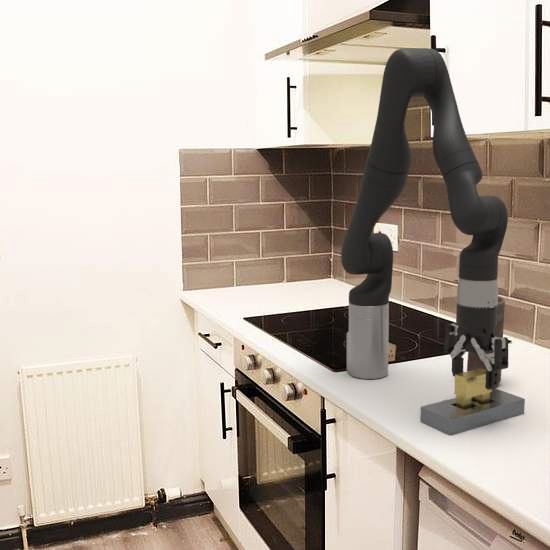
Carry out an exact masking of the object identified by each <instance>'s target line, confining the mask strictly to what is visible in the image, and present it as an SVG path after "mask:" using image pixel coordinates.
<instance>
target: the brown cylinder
mask: <svg viewBox="0 0 550 550" xmlns="http://www.w3.org/2000/svg"><path fill="white" fill-rule="evenodd" d="M505 306H506V300H505V299H504V298H503V297H500V296H499V295H498V307H497V325H496V326H495V328H494V335H495V337H499V338H503V337H504V325H505V323H504V322H505ZM485 354H489V351H487V352H486V353H485ZM490 361H491V360H490ZM466 363H467V364H466V372H467V371H472V370H476V369H480V368H482V369H485V370H487V368H486V366H485V364H484V362H483V361H482V360H481V359H480V357H479V355H476V354H474V353H472V352H467V362H466ZM491 363H492V361H491ZM501 363H502V358H501ZM492 364H493V363H492ZM501 380H502V370H499V371H498V384H499V383H500V382H501Z"/></svg>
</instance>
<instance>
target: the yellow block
mask: <svg viewBox="0 0 550 550" xmlns="http://www.w3.org/2000/svg"><path fill="white" fill-rule="evenodd" d="M485 383H486V370H485V369H482V368H480V369H476V370H472V371H467V370H466V371H463V373H459V374H455V377H454V395H455V398H456V407H458V408H460V409H463V410H466V409H470V408H471V397H474V396H475V402H477V403H479V404H482V405H484V404H488V403H490V392H492V389H491V390H488V389H486V388H485Z"/></svg>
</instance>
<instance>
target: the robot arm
mask: <svg viewBox="0 0 550 550" xmlns="http://www.w3.org/2000/svg"><path fill="white" fill-rule="evenodd" d="M449 73H450V72H449V71H448V66H447V64H446V61H445V59H444V57H443V56H442V54H441V53H440V52H439V51H437V50H436V49H434V48H429V47H428V48H426V47H424V48H423V47H418V48H417V47H416V48H414V47H412V48H409V47H408V48H399V49H396V50H394V51H393V52H392V53H391V54H390V56H389V57H388V59H387V62H386V64H385V66H384V70H383V75H382V81H381V89H380V96H379V103H378V111H377V115H376V119H375V121H376V122H375V125H374V131H373V133H372V134H373V135H372V138H371V139H372V140H371V143H370V147H369V151H368V154H367V158H366V161H365V166H364V170H363V174H362V179H361V185H360V188H359V193H358V195H357V200H356V204H355V207H354V210H353V213H352V216H351V218H350V221H349V225H348V227H347V229H346V230H347V231H346V233H345V236H344V238H343V242H342V246H341V253H340V258H341V266H342V268H343V270H344V271H345V272H346V273H347V274H349V275H352V276H353V275H357V276H359V275H360V276H361V275H366V277H365V279H364V280H362V282H361V283H359V284H357V285H356V286H354V287H352V288H350V290H349V292H348V331H347V333H346V371H347V372H348V375H350V376H352V377H353V378H358V379H363V380H364V379H365V380H374V379H375V380H376V379H382V378H385V377H387V376H388V375H389V327H390V326H389V325H390V324H389V316H390V313H389V311H390V310H389V309H390V307H389V306H390V305H389V304H390V302H389V301H390V300H389V299H390V295H391V291H392V282H393V269H394V249H393V248H394V247H393V244H392V240H391V239H390V237H389V236H388V235H387V234H386V233H383V232H373V230H374V229H375V226H376V225H377V223H378V221H379V220H380V219H381V217H382V216H383V215H384V214H386V212H387V211H388V210H389V208H391V207H392V205H393V204H395V202H396V201H397V200H398V198H399V197H400V196H401V194H402V193H403V191H404V189H405V186H406V183H407V178H408V177H409V172H410V170H411V166H412V153H411V147H410V144H409V141H408V138H407V134H406V129H405V128H406V127H405V126H406V125H405V122H406V115H407V111H408V108H409V104H410V101H411V98H416V97H417V98H418V97H420V98H421V97H423V99H425V101H426V103H427V105H428V106H429V109H430V111H431V114H432V118H433V133H432V153H433V157H434V160H435V164H436V165H437V167H438V170H439V172H440V174H441V176H442V179H443V181H444V183H445V185H446V194H447V202H448V207H449V212H450V213H449V214H450V217H451V219H452V222H453V224H454V226H455V227H456V228H457V229H458V230H459V231H460V233H462V234H464V235H466V236H472V238H471V242H470V243H469V244H468V245H467V246H465V247H464V248H463V249H461V251H460V254H459V260H458V261H459V266H458V282H457V290H456V316H455V322H454V323H448V324H446V325H445V332H444V343H443V345H444V346H443V351H444V353H445V354H449V355H450V358H451V373H452V377H454V378H455V374H459V373H463V372H464V357H463V356H464V355H465V354H466V353H468V352H472V353H474V354H476V355H479V357H480V359H481V360H482V361H483V362H484V364H485V366H486V368H487V370H486V383H485V388H486V389H488V390H491V389H495V388H496V387H497V386H498V384H499V383H498V371H499V370H501V371H503V370H507V369H508V368H509V338H508V337H506V336H503V338H499V337H495V335H494V328H495V326H496V325H497V307H498V296H499V286H498V284H499V283H498V271H499V269H498V268H499V255H500V253H501V250H502V247H503V243H504V239H505V235H506V232H507V228H508V220H509V217H508V215H509V214H508V208H507V206H506V204H505V202H504V201H503V199H502V198H501V197H498V196H496V195H480V196H479V194H478V190H477V185H478V184H479V183H480V182H482V179H483V171H482V168H481V166H480V163H479V161H478V159H477V157H476V155H475V152H474V150H473V147H472V145H471V144H470V142H469V139H468V137H467V133H466V132H465V129H464V125H463V122H462V119H461V116H460V112H459V107H458V103H457V100H456V96H455V92H454V89H453V84H452V80H451V77H450V74H449ZM487 351H489V354H485V353H486V352H487ZM501 358H502V363H501ZM490 360H491V361H492V363H493V364H492V363H491V361H490ZM496 389H497V388H496Z"/></svg>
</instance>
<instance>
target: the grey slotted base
mask: <svg viewBox="0 0 550 550" xmlns="http://www.w3.org/2000/svg"><path fill="white" fill-rule="evenodd" d="M525 404H526V401H525V398H523V397H521V396H518V395H515V394H513V393H509V392H507V391H504V390H501V389H498V388H495V389H492V392H490V403H488V404H484V405H482V404H479V403H477V402H475V396H474V397H471V408H470V409H466V410H463V409H460V408H458V407H456V397H453V398H449V399H446V400H445V399H444V400H441V401H438V402H433V403H430V404H426V405H423V406H420V422H421V423H423V424H425V425H428V426H430V427H431V428H432V429H436V430H437V431H440V432H442V433H444V434H447V435H448V436H454V435H456V434H459V433H462V432H463V433H464V432H466V431H469V430H473V429H476V428H479V427H482V426H486V425H490V424H493V423H496V422H499V421H503V420H506V419H510V418H512V417H513V418H514V417H516V416H519V415H523V414H525Z"/></svg>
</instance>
